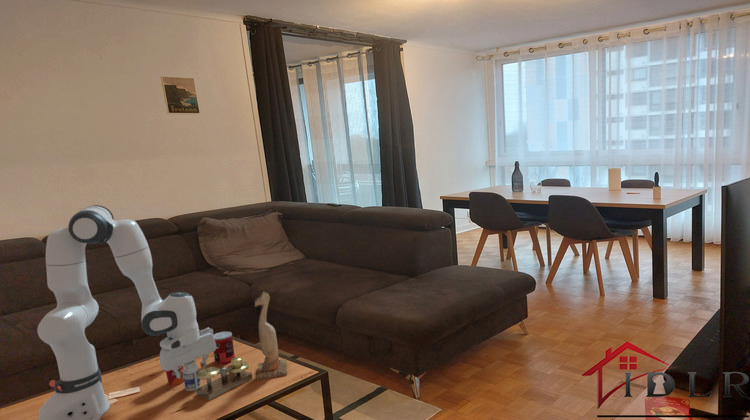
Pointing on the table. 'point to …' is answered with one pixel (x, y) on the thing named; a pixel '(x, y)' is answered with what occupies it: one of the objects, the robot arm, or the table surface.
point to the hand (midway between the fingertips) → (192, 371)
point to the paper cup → (175, 377)
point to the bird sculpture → (268, 344)
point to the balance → (223, 378)
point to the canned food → (223, 347)
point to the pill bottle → (191, 376)
